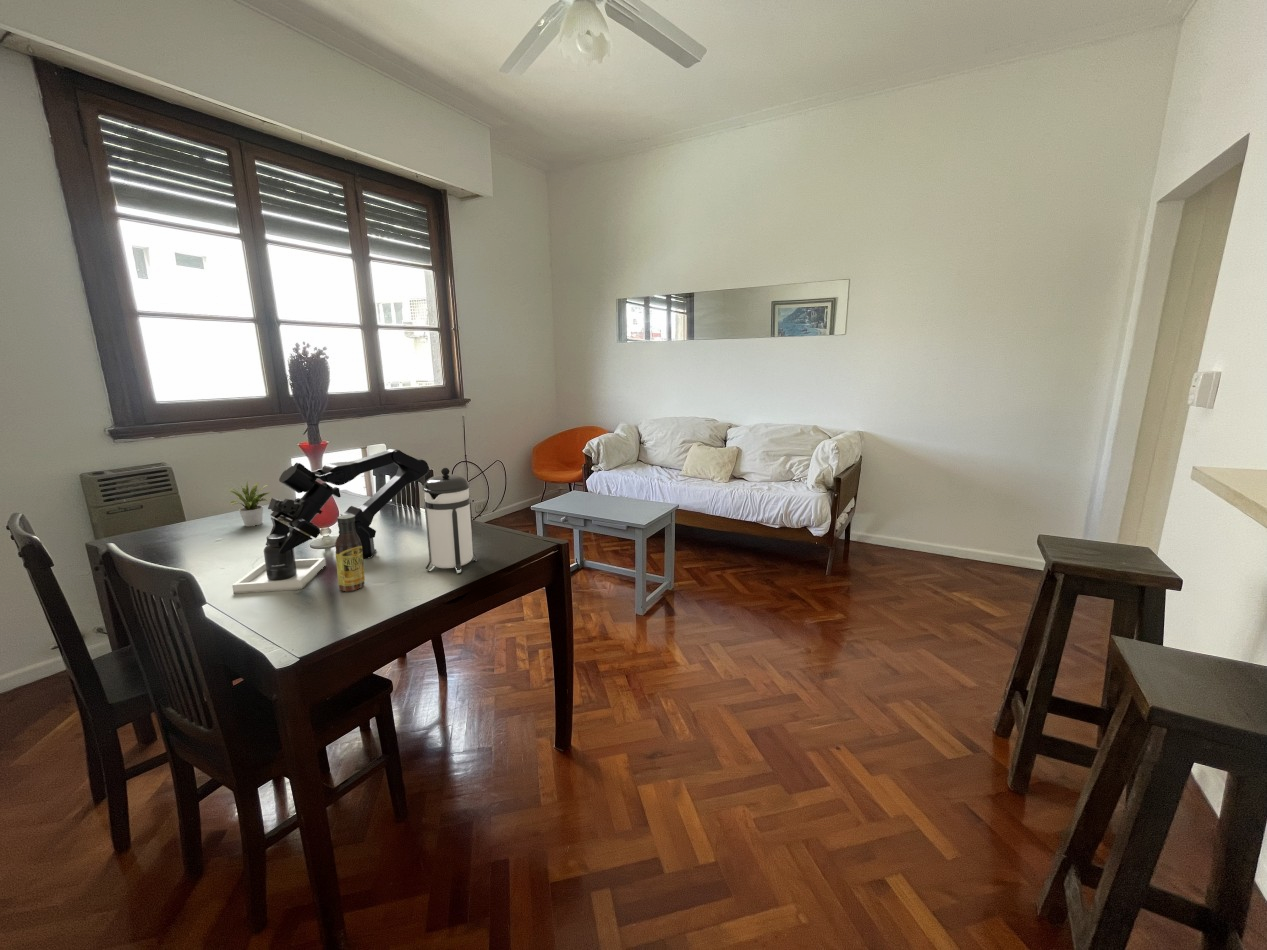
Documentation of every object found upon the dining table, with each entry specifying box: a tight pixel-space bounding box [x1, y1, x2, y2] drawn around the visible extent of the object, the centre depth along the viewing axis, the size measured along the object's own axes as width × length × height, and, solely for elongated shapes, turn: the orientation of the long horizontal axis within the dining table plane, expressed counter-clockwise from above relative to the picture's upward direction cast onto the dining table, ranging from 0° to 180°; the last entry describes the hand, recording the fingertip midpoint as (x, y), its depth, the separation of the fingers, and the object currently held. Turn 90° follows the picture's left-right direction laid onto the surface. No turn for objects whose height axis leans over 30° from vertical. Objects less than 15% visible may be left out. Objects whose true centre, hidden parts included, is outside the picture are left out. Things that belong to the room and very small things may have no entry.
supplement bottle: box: [263, 533, 297, 581], centre depth 138 cm, size 7×7×12 cm
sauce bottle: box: [334, 515, 366, 592], centre depth 132 cm, size 7×6×20 cm
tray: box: [231, 557, 327, 595], centre depth 139 cm, size 16×16×2 cm
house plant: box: [227, 480, 272, 527], centre depth 182 cm, size 14×14×16 cm
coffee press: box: [421, 467, 477, 570], centre depth 147 cm, size 17×16×30 cm
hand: (273, 549), depth 137 cm, fingers open, 9 cm apart
